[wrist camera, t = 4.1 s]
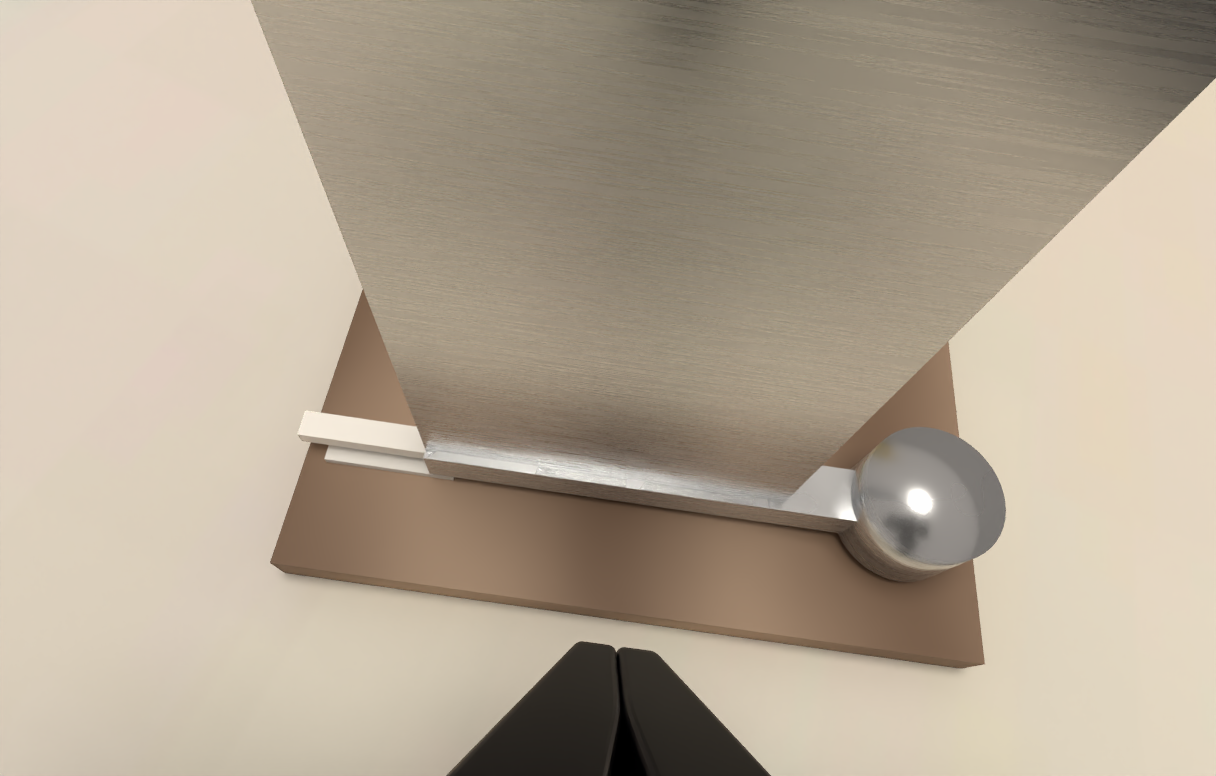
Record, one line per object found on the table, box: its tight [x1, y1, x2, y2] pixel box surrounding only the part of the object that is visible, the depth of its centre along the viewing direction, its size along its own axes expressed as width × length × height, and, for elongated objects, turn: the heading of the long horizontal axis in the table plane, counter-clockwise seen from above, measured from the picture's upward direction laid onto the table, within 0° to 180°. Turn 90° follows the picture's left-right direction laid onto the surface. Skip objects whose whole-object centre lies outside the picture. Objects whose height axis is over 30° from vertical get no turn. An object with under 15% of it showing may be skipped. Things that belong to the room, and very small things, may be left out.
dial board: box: [270, 290, 985, 668], centre depth 19 cm, size 16×14×1 cm
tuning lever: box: [251, 0, 1216, 582], centre depth 10 cm, size 16×3×15 cm, turn 83°
